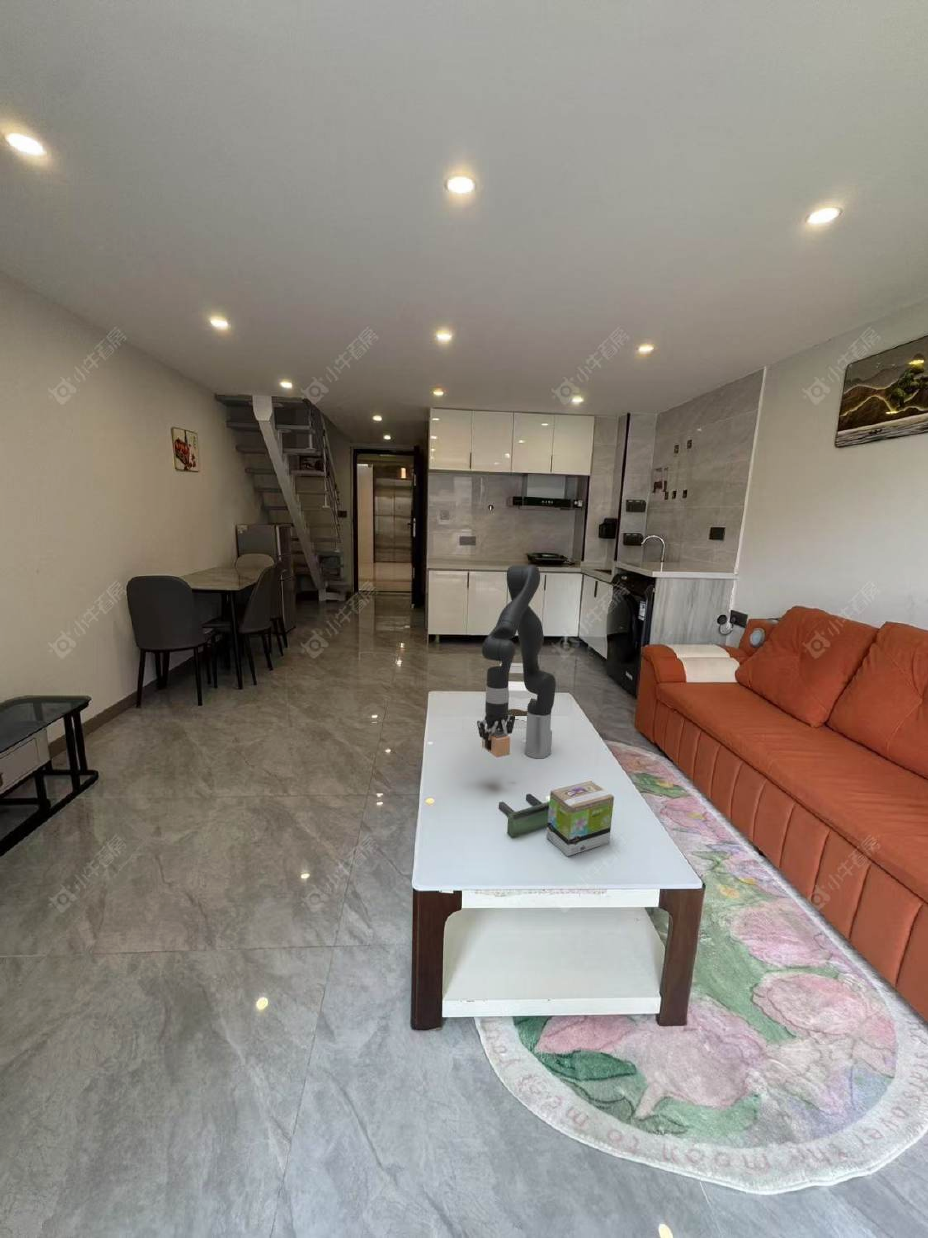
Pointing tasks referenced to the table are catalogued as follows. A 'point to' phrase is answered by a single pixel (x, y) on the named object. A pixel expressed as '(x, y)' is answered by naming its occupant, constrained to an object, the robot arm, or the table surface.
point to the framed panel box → (499, 744)
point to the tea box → (579, 817)
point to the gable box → (519, 695)
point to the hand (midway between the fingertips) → (495, 747)
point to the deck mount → (526, 817)
